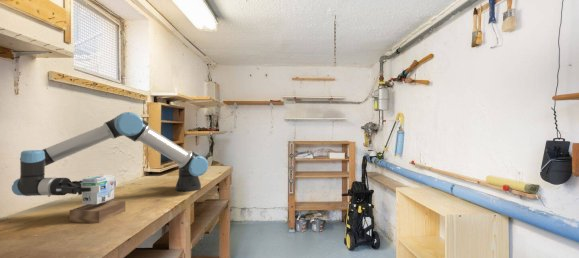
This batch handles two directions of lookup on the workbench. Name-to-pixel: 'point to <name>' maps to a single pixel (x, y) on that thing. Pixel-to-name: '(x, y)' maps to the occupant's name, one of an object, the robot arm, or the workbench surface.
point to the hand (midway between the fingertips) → (108, 186)
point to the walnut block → (97, 211)
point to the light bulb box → (105, 189)
